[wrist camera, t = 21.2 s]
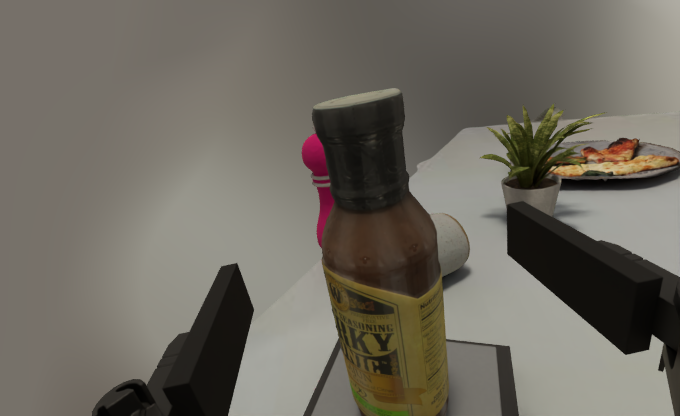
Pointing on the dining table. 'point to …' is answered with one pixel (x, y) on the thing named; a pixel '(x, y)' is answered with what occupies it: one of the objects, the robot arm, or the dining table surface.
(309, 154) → the pepper mill
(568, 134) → the house plant
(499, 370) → the scale
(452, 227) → the ceramic mug
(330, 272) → the sauce bottle
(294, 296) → the dining table surface
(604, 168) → the food plate
